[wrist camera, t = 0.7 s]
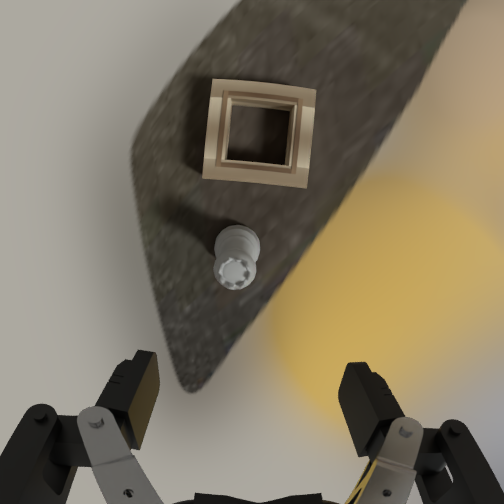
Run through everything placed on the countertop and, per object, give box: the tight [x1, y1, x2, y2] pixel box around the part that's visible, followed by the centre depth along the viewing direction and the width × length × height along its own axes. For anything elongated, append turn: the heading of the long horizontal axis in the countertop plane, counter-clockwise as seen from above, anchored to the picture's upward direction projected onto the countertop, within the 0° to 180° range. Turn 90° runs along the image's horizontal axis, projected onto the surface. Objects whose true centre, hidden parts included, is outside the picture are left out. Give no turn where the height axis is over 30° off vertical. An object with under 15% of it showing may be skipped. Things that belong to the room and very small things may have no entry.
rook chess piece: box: [213, 225, 260, 290], centre depth 25 cm, size 4×4×8 cm
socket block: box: [202, 79, 316, 188], centre depth 25 cm, size 9×9×3 cm
